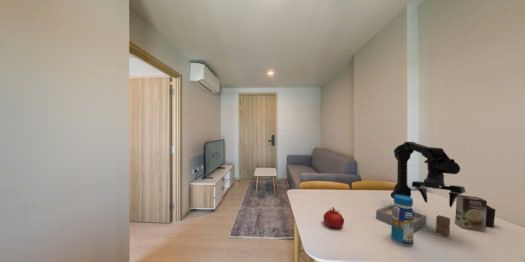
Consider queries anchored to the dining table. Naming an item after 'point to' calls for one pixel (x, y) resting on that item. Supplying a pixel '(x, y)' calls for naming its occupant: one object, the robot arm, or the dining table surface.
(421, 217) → the box
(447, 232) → the walnut peg
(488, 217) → the pen holder
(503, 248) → the dining table surface
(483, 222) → the coffee box
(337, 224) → the pomegranate
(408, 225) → the beverage bottle
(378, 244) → the dining table surface
